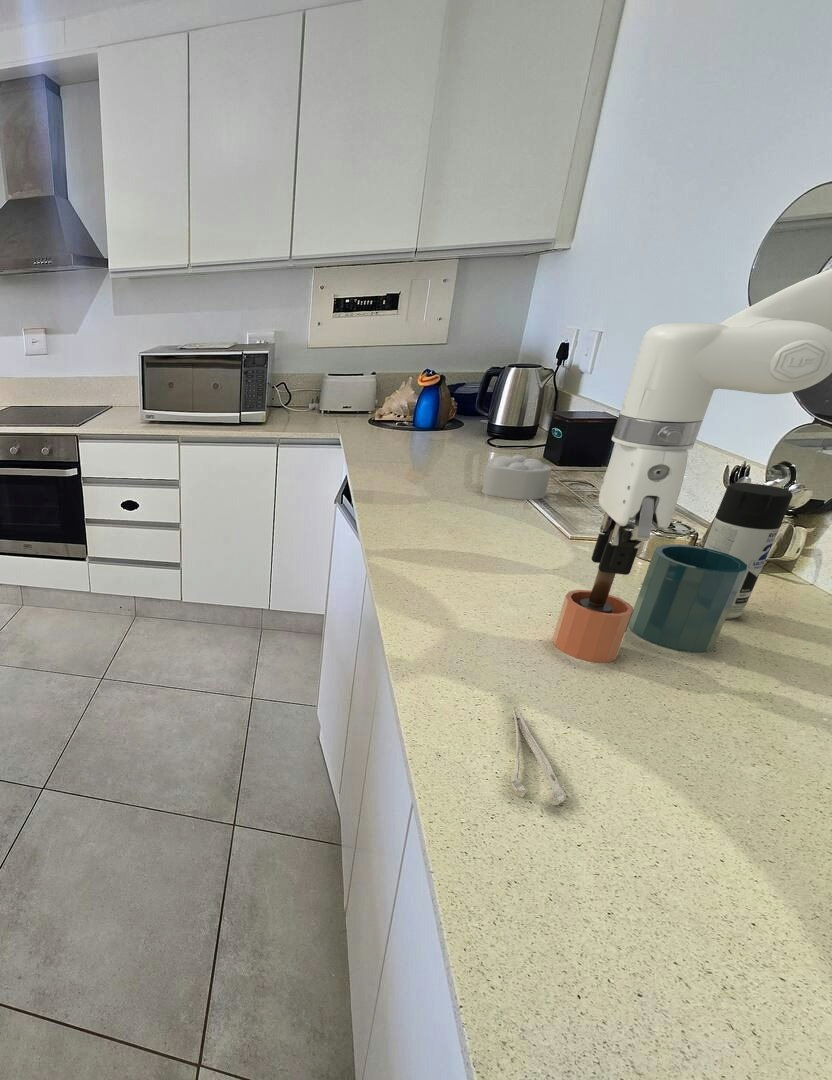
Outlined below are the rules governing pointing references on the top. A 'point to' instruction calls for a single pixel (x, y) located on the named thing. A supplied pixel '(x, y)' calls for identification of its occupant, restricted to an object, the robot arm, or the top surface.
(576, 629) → the brush holder
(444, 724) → the top surface
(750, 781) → the top surface
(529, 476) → the lumpy-topped squat cylinder
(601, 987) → the top surface
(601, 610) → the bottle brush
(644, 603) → the teal faceted cup
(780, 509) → the spray can
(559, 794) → the forked grey bone
